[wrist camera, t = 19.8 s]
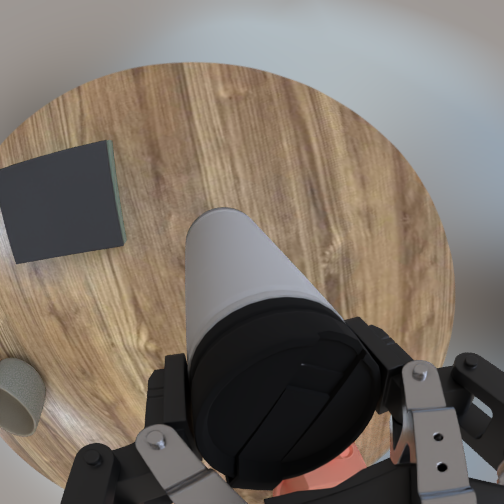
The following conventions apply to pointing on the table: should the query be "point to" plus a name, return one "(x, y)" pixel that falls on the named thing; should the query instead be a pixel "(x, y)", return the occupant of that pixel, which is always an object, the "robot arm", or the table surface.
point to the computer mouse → (160, 500)
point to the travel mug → (267, 359)
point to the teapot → (325, 473)
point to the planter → (20, 397)
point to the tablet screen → (60, 204)
